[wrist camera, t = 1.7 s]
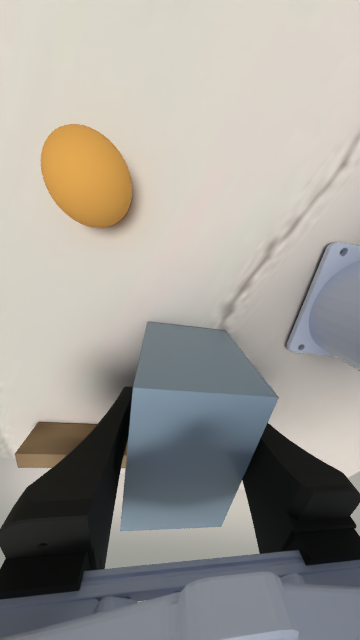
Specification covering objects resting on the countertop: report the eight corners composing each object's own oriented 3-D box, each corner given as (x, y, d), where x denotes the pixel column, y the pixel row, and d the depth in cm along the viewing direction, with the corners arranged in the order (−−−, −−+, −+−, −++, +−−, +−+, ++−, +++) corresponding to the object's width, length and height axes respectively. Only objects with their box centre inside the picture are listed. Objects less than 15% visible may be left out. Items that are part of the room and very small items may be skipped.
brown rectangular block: (157, 426, 16) (156, 455, 14) (155, 438, 17) (154, 468, 14) (38, 422, 15) (14, 453, 13) (40, 435, 15) (18, 467, 13)
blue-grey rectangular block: (225, 330, 13) (278, 397, 7) (199, 425, 17) (221, 526, 10) (147, 321, 13) (132, 387, 6) (136, 423, 16) (120, 530, 10)
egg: (139, 162, 9) (126, 112, 6) (134, 236, 11) (121, 229, 7) (66, 145, 9) (7, 80, 6) (70, 225, 10) (23, 211, 7)
